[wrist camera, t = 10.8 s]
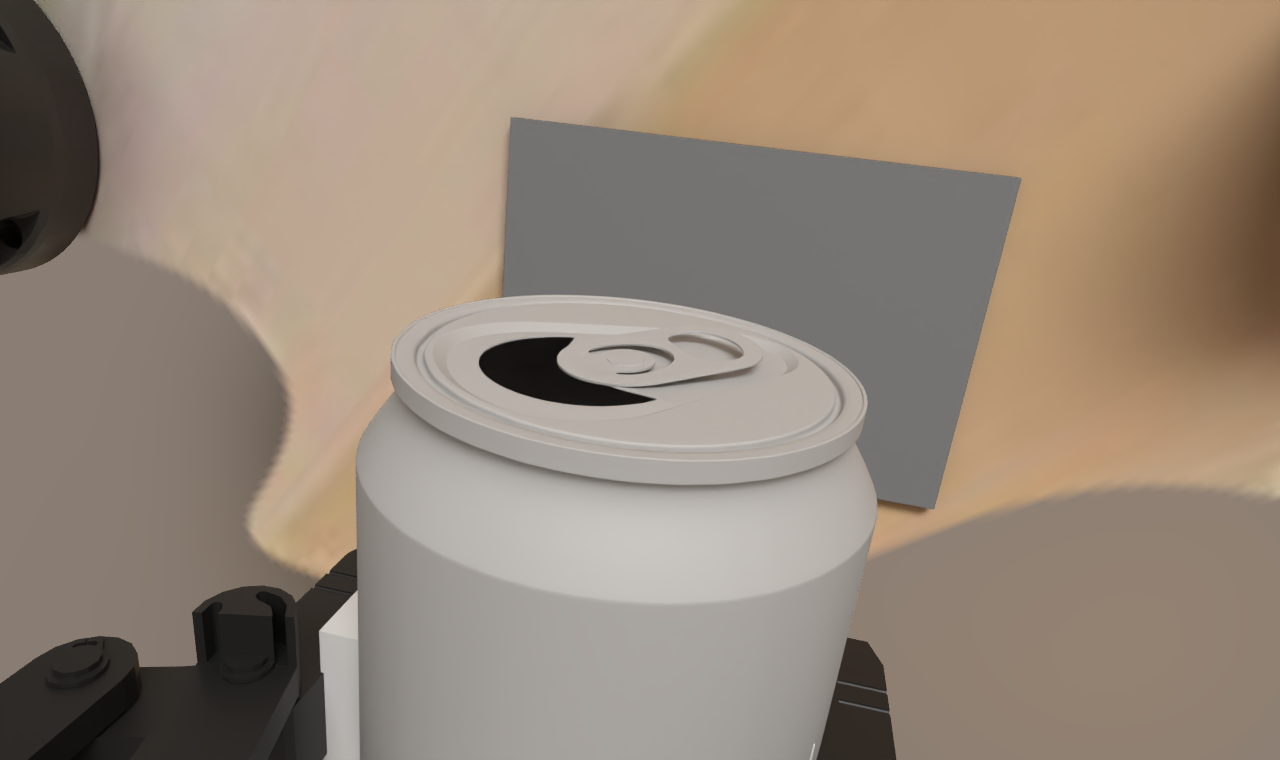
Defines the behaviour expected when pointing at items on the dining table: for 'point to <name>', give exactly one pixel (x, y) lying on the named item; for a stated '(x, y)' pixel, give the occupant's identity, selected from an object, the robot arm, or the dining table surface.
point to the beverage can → (606, 536)
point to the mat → (778, 260)
